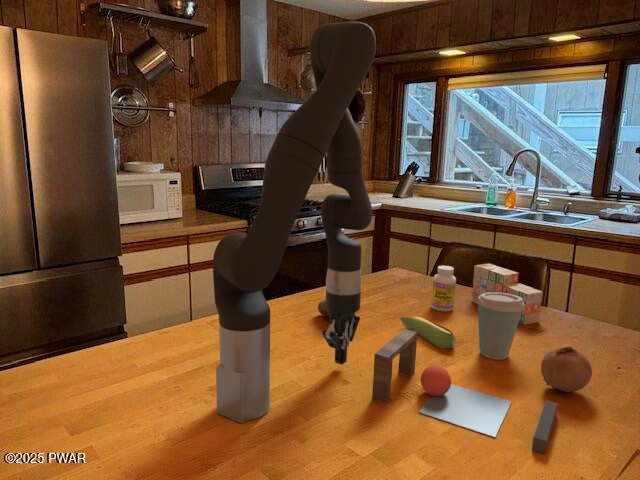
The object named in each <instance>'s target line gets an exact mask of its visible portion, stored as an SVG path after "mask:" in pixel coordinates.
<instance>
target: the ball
mask: <svg viewBox="0 0 640 480" xmlns="http://www.w3.org/2000/svg"><path fill="white" fill-rule="evenodd" d="M420 384H421V386H422V389H423V390H424V392H426V393H427V394H428V395H430V396H441V395H444V394H445V393H447V392H448V390H449V389H450V386H451V384H452V378H451V374H450V373H449V371H448V370H447V369H446V368H445V367H443V366H440V365H436V364H434V365H430V366H427V367H426V368H424V370H423V371H422V373H421V375H420Z"/></svg>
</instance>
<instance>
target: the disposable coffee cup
mask: <svg viewBox="0 0 640 480" xmlns="http://www.w3.org/2000/svg"><path fill="white" fill-rule="evenodd" d="M522 300H523V298H521V297H519V296H516V295H512V294H507V293H499V292H487V293H483V294H481V295H480V296H479V298H478V301H477V303H478V304H477V317H478V318H477V319H478V320H477V321H478V344H479V345H478V347H479V348H478V349H479V351H480V354H481V355H482V356H484V357H486V358H488V359H492V360H498V361H500V360H501V361H502V360H505V359H507V358H508V356H510V355H509V354H510V351H511V348H512V345H513V341H514V339H515V335H516V333H517V329H518V326H519V324H520V323H519V319H520V316H521V313H522V311H523V310H524V302H522Z"/></svg>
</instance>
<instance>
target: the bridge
mask: <svg viewBox="0 0 640 480" xmlns="http://www.w3.org/2000/svg"><path fill="white" fill-rule="evenodd" d="M417 333H418V332H415V331H412V330H410V329H408V328H407V329H406V328H404V329H403V330H401V331H400V332H399V333H398V334H396V336H394V337H393V338H392V339H390V340H389V341H388V342H386V343H385V344H384V345H383V346H382V347H380V348H379V349H378V350H377V351H376V352H375V353H374V356H373V357H374V360H373V376H372V395H371V399H372V400H374V401H377V402H380V403H383V404H388V402H389V401H390V400H391V392H392V376H393V363H394V362H393V360H394V359H395V358H396V357H397V356H398V355H399V359H398V373H397V374H400V375H402V376H407V377H410V378H412V377H413V376H414V374H415V371H416V360H417V359H416V357H417V345H418V344H417V343H418V334H417Z"/></svg>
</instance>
